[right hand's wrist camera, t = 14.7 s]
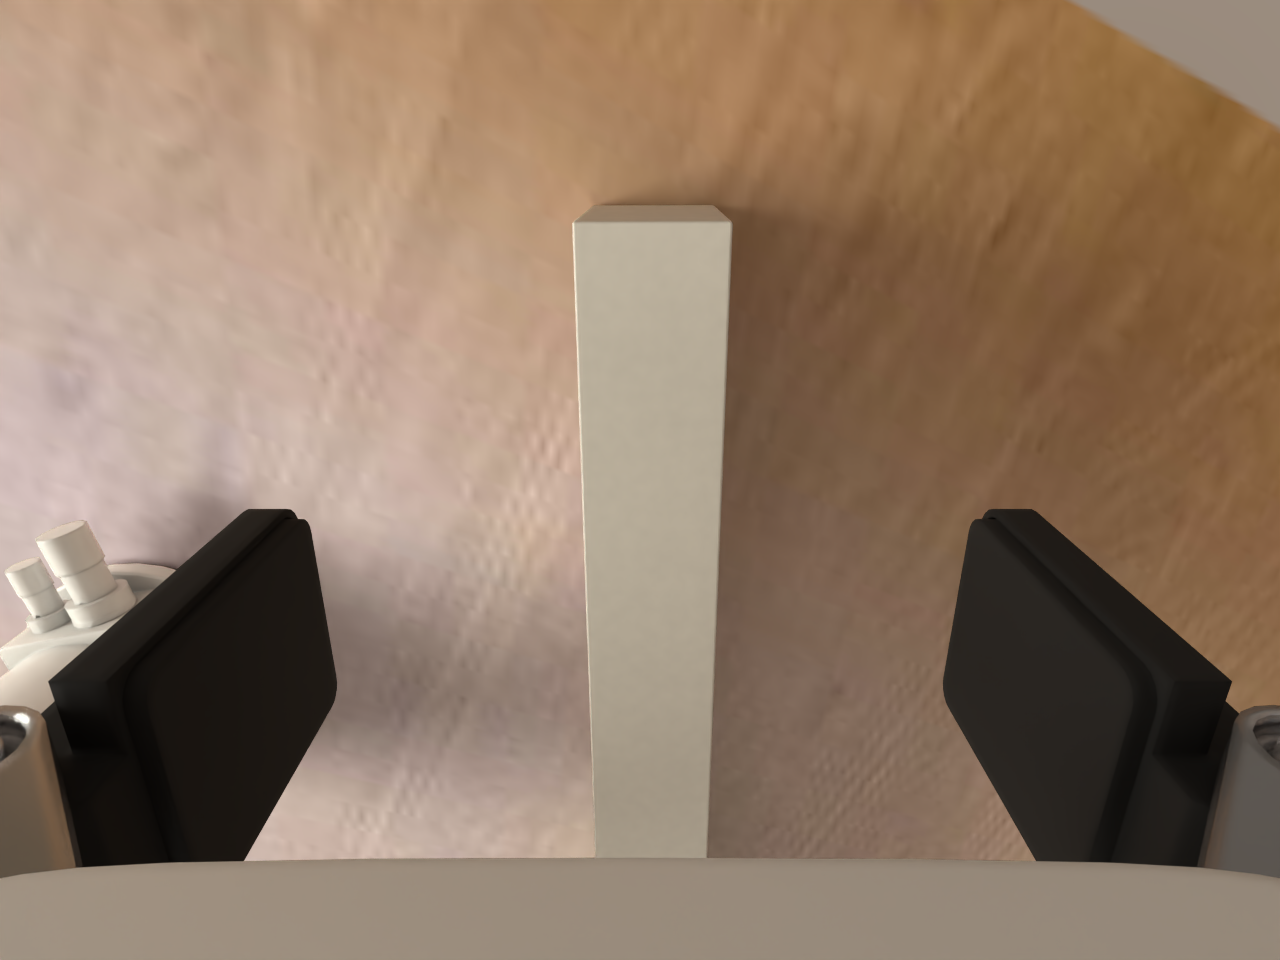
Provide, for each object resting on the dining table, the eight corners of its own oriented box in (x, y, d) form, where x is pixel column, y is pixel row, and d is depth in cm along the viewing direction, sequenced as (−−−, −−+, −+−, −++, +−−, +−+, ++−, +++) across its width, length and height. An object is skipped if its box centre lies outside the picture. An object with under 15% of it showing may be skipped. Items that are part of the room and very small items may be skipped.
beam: (592, 205, 30) (571, 221, 23) (714, 205, 30) (732, 221, 23) (615, 1079, 51) (608, 1231, 44) (687, 1081, 51) (692, 1233, 44)
